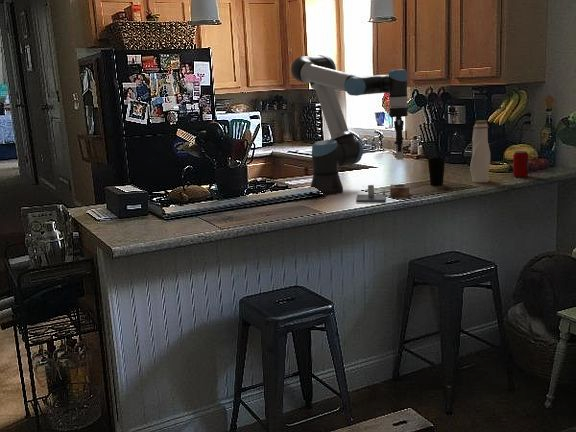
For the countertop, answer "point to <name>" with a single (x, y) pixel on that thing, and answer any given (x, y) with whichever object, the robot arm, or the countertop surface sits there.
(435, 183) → the cup
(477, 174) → the water bottle
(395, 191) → the collar
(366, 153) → the countertop surface
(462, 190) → the countertop surface
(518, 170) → the beverage can
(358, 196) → the post base
